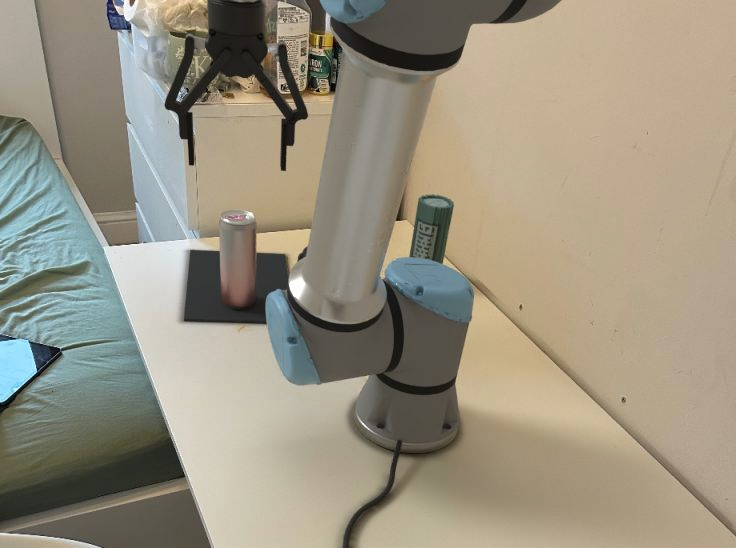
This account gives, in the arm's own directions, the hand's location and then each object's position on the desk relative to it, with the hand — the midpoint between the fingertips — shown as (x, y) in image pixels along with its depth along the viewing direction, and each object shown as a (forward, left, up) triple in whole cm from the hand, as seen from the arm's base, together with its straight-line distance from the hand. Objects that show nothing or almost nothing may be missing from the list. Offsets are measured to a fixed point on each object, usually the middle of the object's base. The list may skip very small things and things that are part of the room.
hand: (237, 165), depth 111 cm
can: (+13, -35, -24) cm, 44 cm away
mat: (+8, 0, -23) cm, 25 cm away
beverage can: (+1, 0, -23) cm, 23 cm away
